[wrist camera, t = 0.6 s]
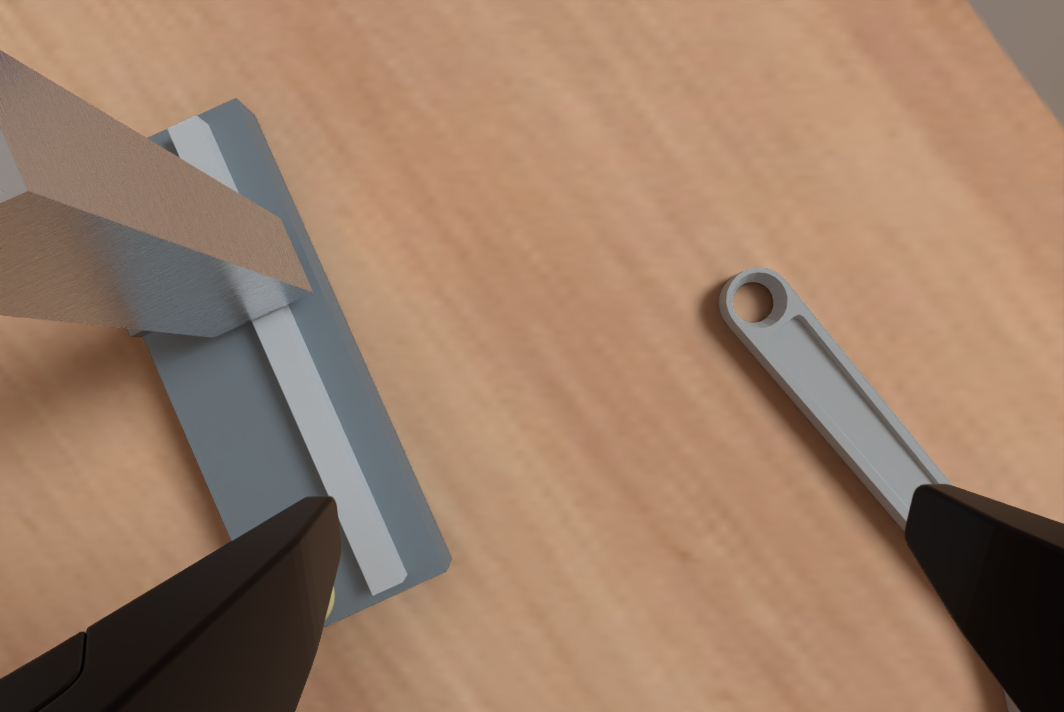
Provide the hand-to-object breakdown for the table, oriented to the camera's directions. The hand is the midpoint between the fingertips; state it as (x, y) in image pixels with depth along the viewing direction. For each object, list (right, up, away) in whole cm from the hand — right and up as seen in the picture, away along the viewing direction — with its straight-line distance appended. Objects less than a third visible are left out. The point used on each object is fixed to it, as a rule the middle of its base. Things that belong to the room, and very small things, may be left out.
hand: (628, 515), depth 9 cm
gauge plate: (-12, +2, +15) cm, 19 cm away
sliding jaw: (-13, +5, +13) cm, 19 cm away
